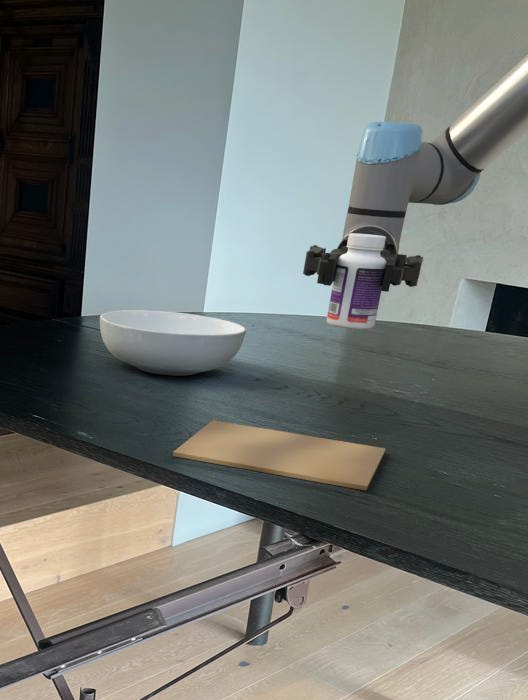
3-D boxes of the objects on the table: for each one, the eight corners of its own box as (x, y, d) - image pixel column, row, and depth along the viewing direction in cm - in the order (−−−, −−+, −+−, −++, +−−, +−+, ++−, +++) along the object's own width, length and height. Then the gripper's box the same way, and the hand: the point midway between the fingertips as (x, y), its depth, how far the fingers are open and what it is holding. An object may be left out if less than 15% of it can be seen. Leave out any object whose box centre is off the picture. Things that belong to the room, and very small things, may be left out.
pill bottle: (379, 326, 114) (398, 236, 110) (365, 332, 110) (385, 238, 106) (334, 320, 117) (351, 231, 113) (319, 324, 113) (335, 233, 108)
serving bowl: (267, 384, 140) (275, 334, 136) (134, 387, 132) (139, 334, 129) (194, 354, 157) (200, 308, 153) (73, 355, 149) (76, 308, 146)
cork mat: (385, 452, 111) (386, 448, 111) (366, 491, 98) (367, 486, 97) (211, 424, 117) (212, 419, 117) (172, 456, 104) (173, 451, 104)
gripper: (434, 296, 126) (439, 321, 106) (288, 281, 130) (266, 302, 110) (448, 232, 122) (457, 246, 102) (298, 219, 127) (278, 229, 107)
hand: (358, 275), depth 107 cm, fingers closed on pill bottle, 5 cm apart
